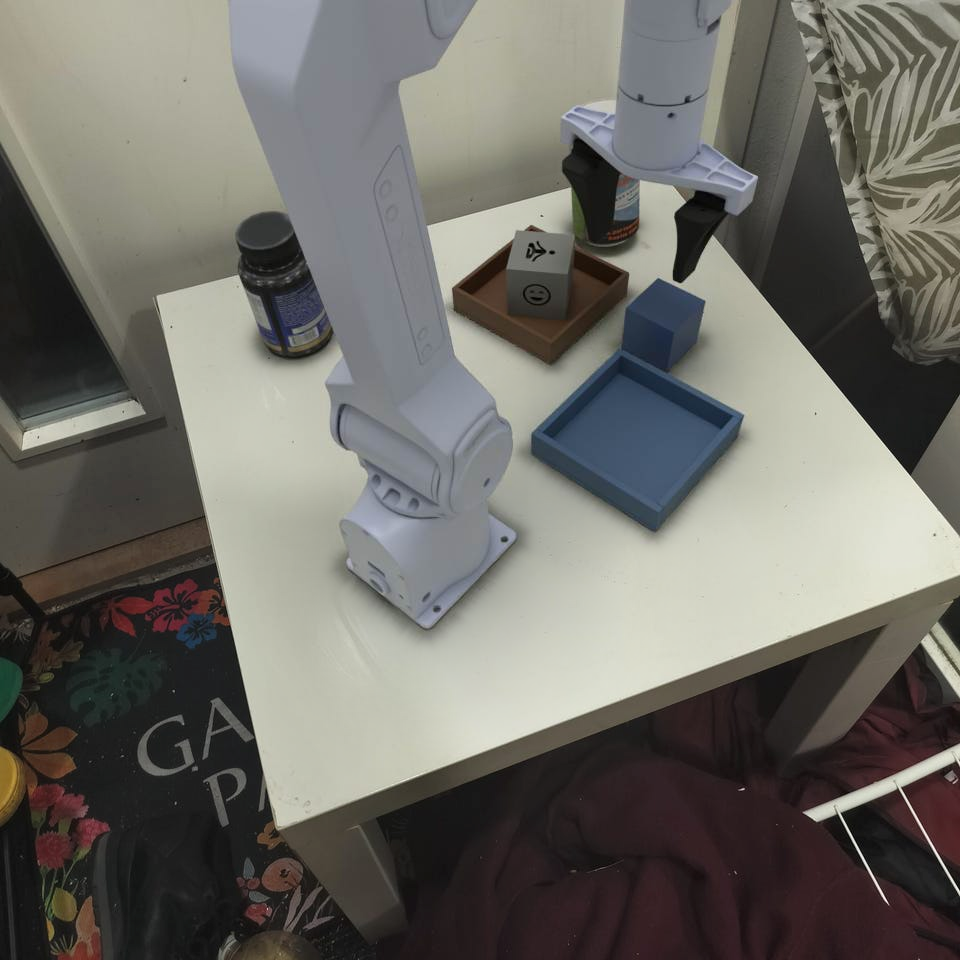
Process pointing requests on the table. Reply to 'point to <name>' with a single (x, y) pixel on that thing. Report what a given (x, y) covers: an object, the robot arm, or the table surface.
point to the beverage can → (625, 199)
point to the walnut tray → (541, 337)
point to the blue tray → (636, 437)
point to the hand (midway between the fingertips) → (640, 254)
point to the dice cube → (540, 274)
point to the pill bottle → (280, 285)
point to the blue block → (662, 324)
